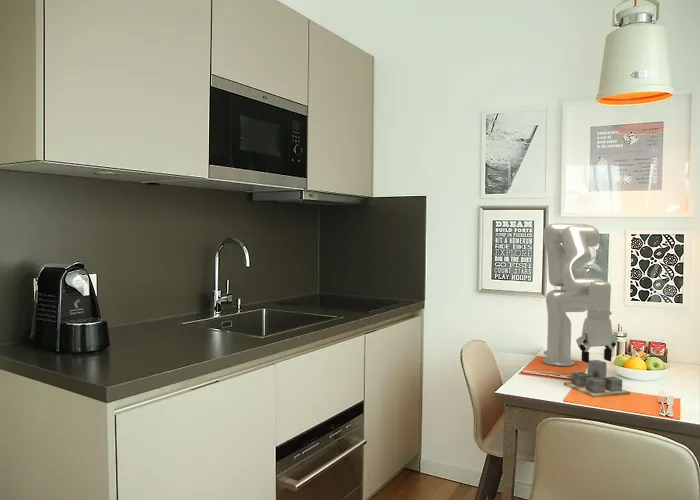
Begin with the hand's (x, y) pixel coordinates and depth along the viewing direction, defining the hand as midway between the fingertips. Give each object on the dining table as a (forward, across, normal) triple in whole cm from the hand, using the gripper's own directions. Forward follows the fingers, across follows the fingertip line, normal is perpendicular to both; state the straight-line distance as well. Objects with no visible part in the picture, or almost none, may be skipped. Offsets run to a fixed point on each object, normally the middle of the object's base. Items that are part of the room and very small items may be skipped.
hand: (596, 361), depth 208 cm
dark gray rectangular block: (+8, 0, +1) cm, 8 cm away
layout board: (+9, +4, +5) cm, 11 cm away
